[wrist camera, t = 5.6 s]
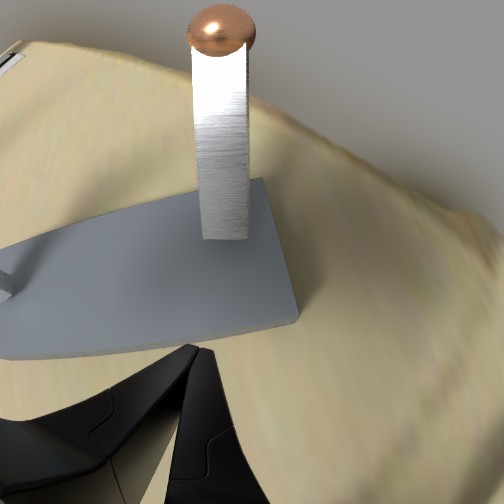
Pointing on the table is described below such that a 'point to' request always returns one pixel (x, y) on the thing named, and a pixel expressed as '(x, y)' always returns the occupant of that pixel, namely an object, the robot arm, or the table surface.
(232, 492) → the robot arm
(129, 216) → the switch board
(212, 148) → the copper knob rod
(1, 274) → the beige grey bar
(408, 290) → the table surface
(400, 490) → the table surface
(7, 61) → the slab on white base
